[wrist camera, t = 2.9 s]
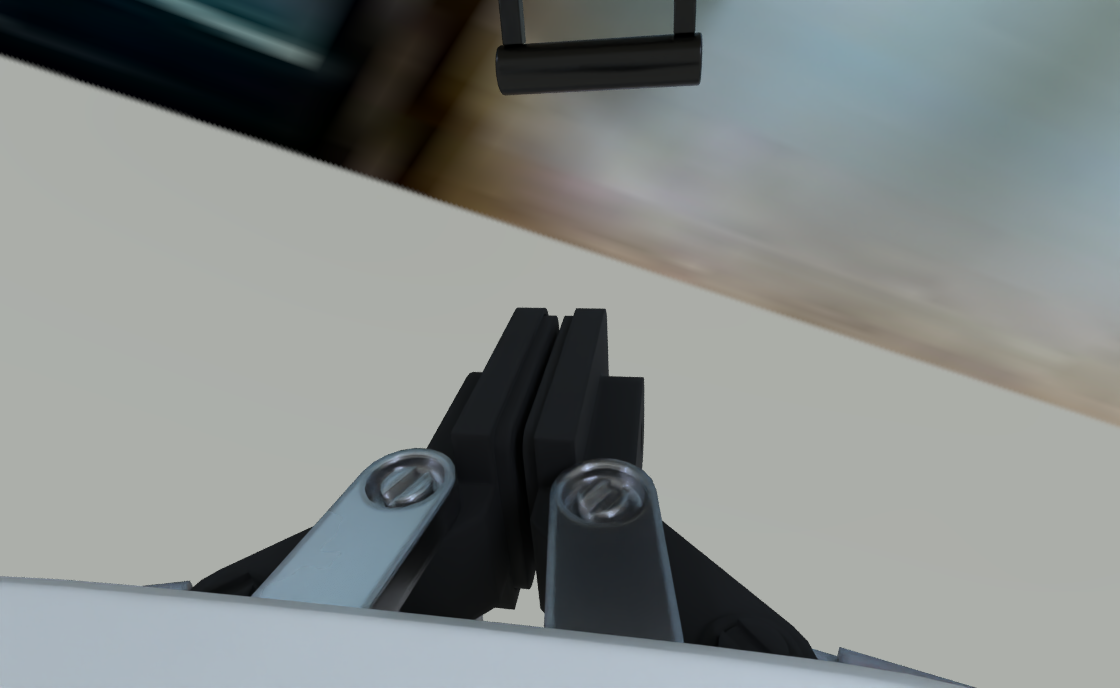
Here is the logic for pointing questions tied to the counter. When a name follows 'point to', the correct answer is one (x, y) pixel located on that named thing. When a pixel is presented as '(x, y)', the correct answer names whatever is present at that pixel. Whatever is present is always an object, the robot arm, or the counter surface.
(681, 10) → the drawer
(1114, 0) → the counter surface
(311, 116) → the counter surface
